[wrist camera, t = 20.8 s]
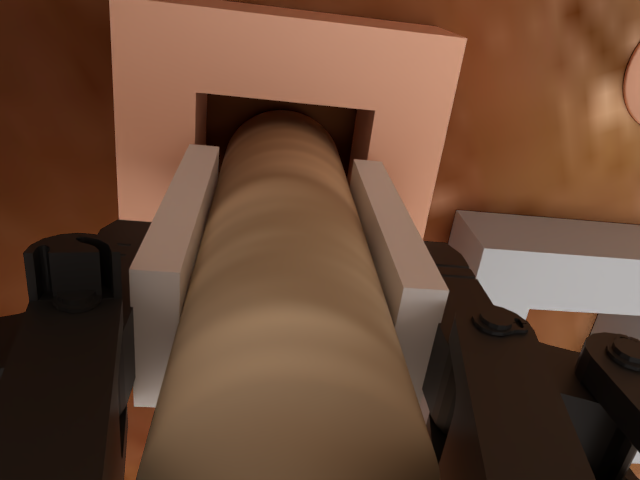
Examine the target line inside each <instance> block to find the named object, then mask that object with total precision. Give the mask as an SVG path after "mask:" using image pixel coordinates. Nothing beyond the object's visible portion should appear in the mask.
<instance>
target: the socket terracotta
mask: <svg viewBox="0 0 640 480" xmlns="http://www.w3.org/2000/svg"><path fill="white" fill-rule="evenodd" d="M109 7H110V30H111V52H112V75H113V97H114V120H115V142H116V165H117V187H118V210H119V220H132V221H145V222H152V221H153V219H154V216H155V214H156V212H157V210H158V208H159V206H160V204H161V202H162V200H163V198H164V196H165V194H166V192H167V190H168V187H169V185H170V183H171V181H172V179H173V177H174V175H175V173H176V171H177V169H178V167H179V165H180V163H181V161H182V158H183V156H184V154H185V152H186V150H187V148H188V146H189V144H196V145H206V125H207V94H217V95H227V96H236V97H246V98H256V99H266V100H276V101H286V102H295V103H305V104H315V105H325V106H335V107H345V108H354V109H357V113H356V120H355V127H354V134H353V141H352V148H351V154H350V161H349V168H348V175H347V181H348V184H349V187H350V181H351V174H352V168H353V161H354V159H358V160H369V161H380V162H382V163H383V165H384V167H385V169H386V171H387V173H388V175H389V177H390V178H391V180H392V182H393V184H394V186H395V188H396V190H397V192H398V194H399V196H400V198H401V199H402V201H403V203H404V205H405V207H406V209H407V211H408V213H409V215H410V217H411V219H412V220H413V222H414V224H415V226H416V228H417V230H418V232H419V234H420V236H421V238H422V240H423V237H424V232H425V228H426V223H427V219H428V214H429V209H430V205H431V200H432V196H433V191H434V187H435V182H436V178H437V173H438V169H439V164H440V160H441V155H442V151H443V146H444V142H445V137H446V132H447V128H448V123H449V119H450V114H451V110H452V105H453V101H454V96H455V92H456V87H457V83H458V78H459V74H460V69H461V65H462V60H463V56H464V51H465V46H466V42H467V38H465V37H463V36H460V35H458V34H455V33H453V32H450V31H448V30H445V29H443V28H440V27H438V26H430V25H422V24H414V23H406V22H397V21H389V20H381V19H373V18H364V17H356V16H348V15H340V14H331V13H323V12H315V11H307V10H299V9H290V8H282V7H274V6H266V5H257V4H249V3H241V2H233V1H224V0H109Z"/></svg>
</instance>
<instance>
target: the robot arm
mask: <svg viewBox="0 0 640 480" xmlns="http://www.w3.org/2000/svg"><path fill="white" fill-rule="evenodd" d="M218 167H219V147H217V146H206V145H196V144H189V146H188V148H187V150H186V152H185V154H184V156H183V158H182V161H181V163H180V165H179V167H178V169H177V171H176V173H175V175H174V177H173V179H172V181H171V183H170V185H169V187H168V190H167V192H166V194H165V196H164V198H163V200H162V202H161V204H160V206H159V208H158V210H157V212H156V214H155V216H154V219H153V221H152V222H145V221H132V220H119V219H118V220H116V221H114V222H113V223H111V224H109V225H107V226H106V227H104V228H102V229H101V230H100V231H99V233H98V234H97V235H96V234H86V233H71V234H60V235H56V236H52V237H48V238H44V239H42V240H40V241H38V242H36V243H34V244H32V245H30V246H29V247H28V248H27V249H26V251H25V252H24V253H23V256H24V263H25V271H26V279H27V287H28V294H29V304H28V307H27V309H26V312H24V313H20V314H16V315H10V316H5V317H0V480H124V472H125V458H126V444H127V430H128V417H127V401H128V399H129V396H130V393H131V390H132V387H133V393H134V406H135V407H156V404H157V400H158V397H159V393H160V389H161V386H162V382H163V378H164V375H165V371H166V367H167V364H168V360H169V356H170V353H171V349H172V345H173V342H174V338H175V334H176V331H177V327H178V324H179V321H180V317H181V313H182V310H183V306H184V302H185V299H186V295H187V291H188V288H189V284H190V280H191V277H192V273H193V269H194V266H195V262H196V258H197V255H198V251H199V247H200V244H201V240H202V236H203V233H204V229H205V225H206V222H207V218H208V214H209V211H210V207H211V203H212V200H213V196H214V192H215V188H216V185H217V181H218ZM350 191H351V194H352V197H353V200H354V203H355V206H356V209H357V212H358V215H359V219H360V222H361V225H362V228H363V231H364V234H365V237H366V240H367V243H368V246H369V250H370V253H371V256H372V259H373V262H374V265H375V268H376V271H377V274H378V278H379V281H380V284H381V287H382V290H383V293H384V296H385V299H386V302H387V306H388V309H389V312H390V315H391V318H392V321H393V324H394V327H395V330H396V333H397V337H398V340H399V343H400V346H401V349H402V352H403V355H404V358H405V361H406V365H407V368H408V371H409V374H410V377H411V380H412V383H413V386H414V389H415V393H416V396H417V399H418V402H419V405H420V404H421V400H422V396H423V394H424V397H425V400H426V402H427V405H428V408H429V411H430V412H429V415H428V419H427V423H426V427H427V430H428V433H429V436H430V439H431V442H432V445H433V448H434V452H435V455H436V458H437V462H438V465H439V470H440V480H639V479H638V478H637V477H636V476H635V474H634V473H633V472H632V470H631V469H630V468H629V467H630V465H631V463H632V461H633V459H634V457H635V455H636V453H637V451H638V452H639V453H640V340H638V339H636V338H633V337H630V336H629V337H628V336H627V335H623V334H615V333H607V332H602V333H594V334H592V335H590V336H589V337H587V338H586V340H585V342H584V345H583V347H582V350H581V352H580V353H578V352H574V351H570V350H566V349H562V348H558V347H554V346H550V345H547V344H544V343H541V342H539V341H538V339H537V336H536V334H535V332H534V330H533V328H532V327H531V326H530V324H529V323H528V322H527V321H526V320H525V319H523V318H522V317H520V316H519V315H518V314H516V313H514V312H512V311H510V310H507V309H505V308H503V307H499V306H495V305H493V303H492V302H491V300H490V298H489V297H488V295H487V294H486V292H485V290H484V289H483V287H482V286H481V284H480V283H479V281H478V279H476V276H475V275H474V273H473V271H472V270H471V269H469V265H468V264H467V262H466V260H465V259H464V257H463V256H462V254H461V253H459V252H458V251H457V250H455V249H454V248H452V247H451V246H450V245H448V244H447V243H443V242H430V241H423V240H422V238H421V236H420V234H419V232H418V230H417V228H416V226H415V224H414V222H413V220H412V219H411V217H410V215H409V213H408V211H407V209H406V207H405V205H404V203H403V201H402V199H401V198H400V196H399V194H398V192H397V190H396V188H395V186H394V184H393V182H392V180H391V178H390V177H389V175H388V173H387V171H386V169H385V167H384V165H383V163H382V162H380V161H369V160H358V159H354V161H353V168H352V174H351V181H350Z"/></svg>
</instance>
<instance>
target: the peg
mask: <svg viewBox="0 0 640 480" xmlns="http://www.w3.org/2000/svg"><path fill="white" fill-rule="evenodd" d="M136 480H440V470H439V465H438V462H437V458H436V455H435V452H434V448H433V445H432V442H431V439H430V436H429V433H428V430H427V427H426V424H425V420H424V417H423V414H422V411H421V408H420V405H419V402H418V399H417V396H416V393H415V389H414V386H413V383H412V380H411V377H410V374H409V371H408V368H407V365H406V361H405V358H404V355H403V352H402V349H401V346H400V343H399V340H398V337H397V333H396V330H395V327H394V324H393V321H392V318H391V315H390V312H389V309H388V306H387V302H386V299H385V296H384V293H383V290H382V287H381V284H380V281H379V278H378V274H377V271H376V268H375V265H374V262H373V259H372V256H371V253H370V250H369V246H368V243H367V240H366V237H365V234H364V231H363V228H362V225H361V222H360V219H359V215H358V212H357V209H356V206H355V203H354V200H353V197H352V194H351V191H350V187H349V184H348V181H347V178H346V175H345V172H344V169H343V166H342V163H341V159H340V156H339V153H338V150H337V147H336V145H335V143H334V141H333V139H332V137H331V136H330V134H329V133H328V132H327V131H326V129H325V128H324V127H323V126H322V125H320V124H319V123H318V122H317V121H315V120H314V119H312V118H310V117H308V116H306V115H304V114H301V113H298V112H294V111H287V110H275V111H269V112H265V113H262V114H259V115H257V116H255V117H253V118H251V119H249V120H248V121H246V122H245V123H244V124H243V125H241V126H240V127H239V128H238V130H237V131H236V132H235V133H234V135H233V136H232V138H231V139H230V141H229V143H228V145H227V148H226V152H225V155H224V159H223V162H222V166H221V170H220V173H219V177H218V181H217V185H216V188H215V192H214V196H213V200H212V203H211V207H210V211H209V214H208V218H207V222H206V225H205V229H204V233H203V236H202V240H201V244H200V247H199V251H198V255H197V258H196V262H195V266H194V269H193V273H192V277H191V280H190V284H189V288H188V291H187V295H186V299H185V302H184V306H183V310H182V313H181V317H180V321H179V324H178V327H177V331H176V334H175V338H174V342H173V345H172V349H171V353H170V356H169V360H168V364H167V367H166V371H165V375H164V378H163V382H162V386H161V389H160V393H159V397H158V400H157V404H156V408H155V411H154V415H153V419H152V422H151V426H150V430H149V433H148V437H147V441H146V444H145V448H144V452H143V455H142V459H141V463H140V466H139V470H138V474H137V477H136Z"/></svg>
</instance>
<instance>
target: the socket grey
mask: <svg viewBox="0 0 640 480" xmlns="http://www.w3.org/2000/svg"><path fill="white" fill-rule="evenodd" d="M448 245H450V246H451V247H452V248H454V249H455V250H457V251H458V252H459V253H461V254H462V256H463V257H464V259H465V260H466V262H467V264H468V265H469V269H471V270H472V271H473V273H474V275H475V276H476V279H478V281H479V283H480V284H481V286H482V287H483V289H484V290H485V292H486V294H487V295H488V297H489V298H490V300H491V302H492V303H493V305H495V306H499V307H503V308H505V309H507V310H510V311H512V312H514V313H516V314H518V315H519V316H520V317H522V318H523V319H525V320H526V317H527V314H528V311H529V309H539V310H555V311H571V312H588V313H599V314H598V316H597V319H596V321H595V324H594V326H593V329H592V331H591V334H590V335H592V334H594V333H602V332H607V333H615V334H623V335H627V336H628V337H629V336H630V337H633V338H636V339H638V340H640V225H634V224H621V223H609V222H597V221H585V220H573V219H560V218H548V217H536V216H524V215H512V214H499V213H487V212H475V211H463V210H456V213H455V217H454V222H453V226H452V230H451V234H450V238H449V242H448ZM420 408H421V411H422V414H423V417H424V420H425V424H426V423H427V419H428V415H429V412H430V411H429V408H428V405H427V402H426V400H425V397H424V394H423V396H422V400H421V404H420ZM632 463H640V453H639V452H638V451H637V453H636V455H635V457H634V459H633V461H632Z"/></svg>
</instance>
